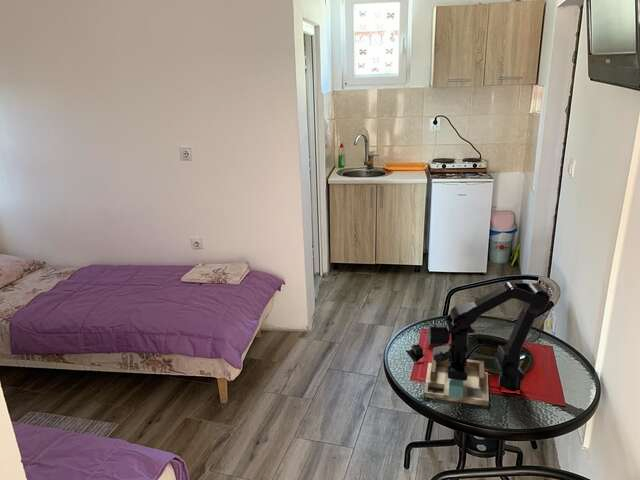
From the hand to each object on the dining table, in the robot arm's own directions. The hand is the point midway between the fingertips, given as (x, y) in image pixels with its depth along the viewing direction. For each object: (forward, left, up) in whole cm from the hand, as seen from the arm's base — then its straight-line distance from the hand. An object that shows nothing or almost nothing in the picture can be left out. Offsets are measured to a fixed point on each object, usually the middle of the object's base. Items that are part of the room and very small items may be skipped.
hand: (456, 381), depth 174 cm
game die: (+9, -29, -3) cm, 31 cm away
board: (0, -2, -3) cm, 4 cm away
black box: (+16, -18, -4) cm, 24 cm away
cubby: (0, -6, -1) cm, 6 cm away
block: (0, +6, -1) cm, 6 cm away
